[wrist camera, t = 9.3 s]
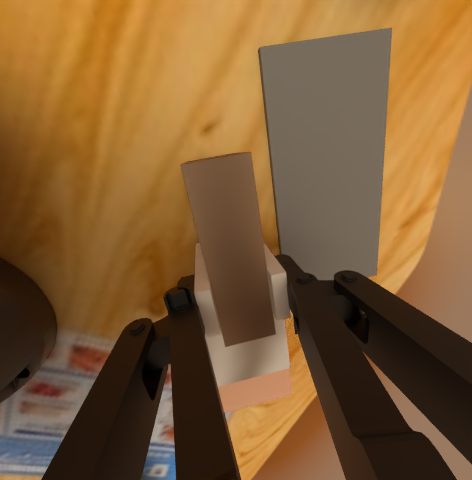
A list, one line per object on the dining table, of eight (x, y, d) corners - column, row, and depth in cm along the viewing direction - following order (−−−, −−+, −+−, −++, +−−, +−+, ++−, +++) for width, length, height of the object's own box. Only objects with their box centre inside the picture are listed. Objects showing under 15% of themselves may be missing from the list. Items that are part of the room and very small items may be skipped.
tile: (206, 335, 25) (222, 392, 28) (207, 354, 23) (224, 413, 26) (277, 318, 26) (285, 375, 29) (285, 334, 23) (292, 394, 27)
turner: (216, 379, 22) (222, 455, 16) (156, 167, 15) (131, 174, 9) (287, 360, 23) (316, 428, 17) (261, 148, 16) (295, 143, 10)
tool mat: (284, 293, 24) (286, 296, 24) (258, 50, 17) (259, 47, 16) (373, 272, 25) (376, 275, 25) (386, 31, 17) (391, 27, 17)
